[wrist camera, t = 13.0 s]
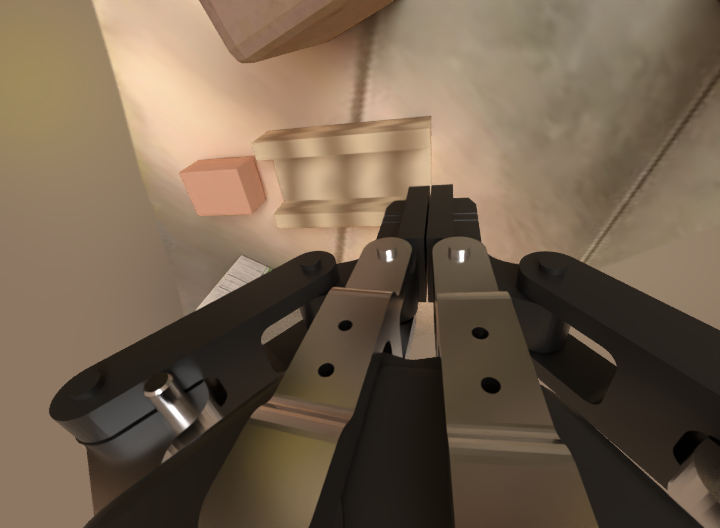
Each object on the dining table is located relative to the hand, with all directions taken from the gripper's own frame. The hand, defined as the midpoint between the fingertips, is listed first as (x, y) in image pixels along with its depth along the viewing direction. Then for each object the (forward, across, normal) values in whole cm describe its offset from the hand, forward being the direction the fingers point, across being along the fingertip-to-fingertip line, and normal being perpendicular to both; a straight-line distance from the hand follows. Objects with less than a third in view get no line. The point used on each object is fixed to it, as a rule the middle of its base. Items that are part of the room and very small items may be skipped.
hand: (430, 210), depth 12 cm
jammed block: (+28, +28, +9) cm, 40 cm away
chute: (+30, +11, +9) cm, 33 cm away
